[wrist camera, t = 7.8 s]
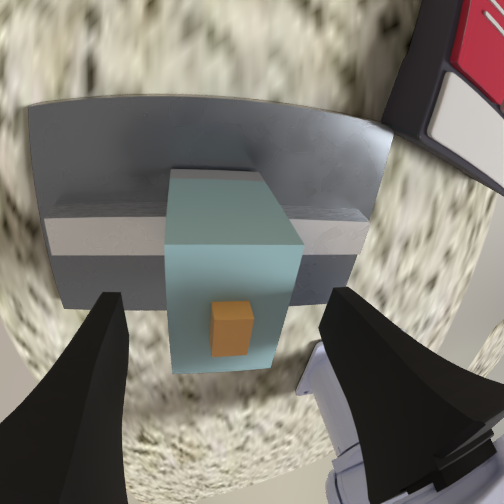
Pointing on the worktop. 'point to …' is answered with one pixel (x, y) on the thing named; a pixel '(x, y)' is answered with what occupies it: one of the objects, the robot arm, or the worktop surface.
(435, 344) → the worktop surface
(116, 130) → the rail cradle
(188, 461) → the worktop surface
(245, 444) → the worktop surface
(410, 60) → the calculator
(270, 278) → the block
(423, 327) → the worktop surface
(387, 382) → the robot arm
